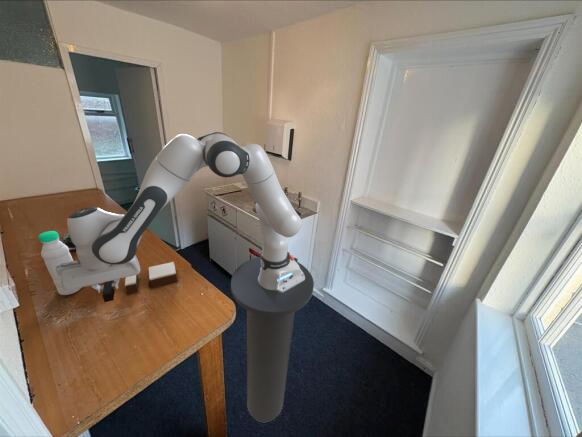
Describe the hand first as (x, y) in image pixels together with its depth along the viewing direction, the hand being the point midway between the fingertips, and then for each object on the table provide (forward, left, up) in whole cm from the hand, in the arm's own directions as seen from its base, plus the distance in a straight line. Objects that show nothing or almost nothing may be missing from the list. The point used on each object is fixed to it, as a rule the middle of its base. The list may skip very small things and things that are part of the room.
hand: (109, 289), depth 79 cm
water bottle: (+15, -18, -9) cm, 25 cm away
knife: (0, -6, -2) cm, 6 cm away
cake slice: (-5, -10, -9) cm, 15 cm away
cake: (-16, -10, -9) cm, 21 cm away
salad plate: (+18, -56, -9) cm, 60 cm away
